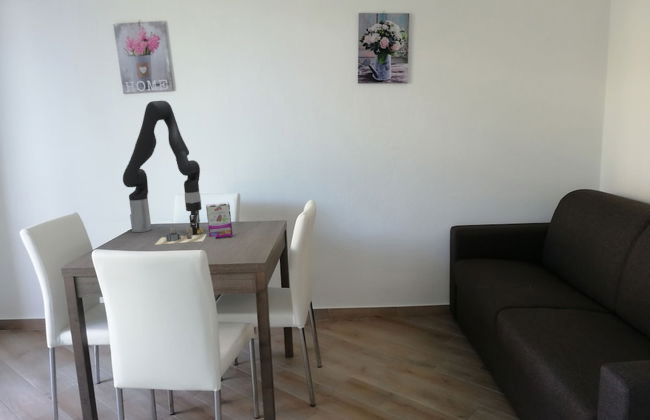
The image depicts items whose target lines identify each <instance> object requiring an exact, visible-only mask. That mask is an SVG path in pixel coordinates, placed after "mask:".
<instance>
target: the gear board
mask: <svg viewBox="0 0 650 420" xmlns="http://www.w3.org/2000/svg"><path fill="white" fill-rule="evenodd" d="M185 229H186V230H185V231H186V235H181V239H180V240H177V241H171V242H169V241H166V236H165V237H164V236H163V237H162V236H161V237H160V238H159V239H158V241H156V242H155V243H154V246H155V245H156V246H158V245H165V244H166V245H168V244H169V245H170V244H180V243H194V242H195V243H196V242H204V240H205V238H206V236H207V235H208V234H206V233H205V234H204V233H203V234H202V233H201V234H197V235H193V234H191V229H192V227H191V225H187V226H185ZM175 232H176V227H175V226H171V227H169V233H171V235H173V234H175Z"/></svg>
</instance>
